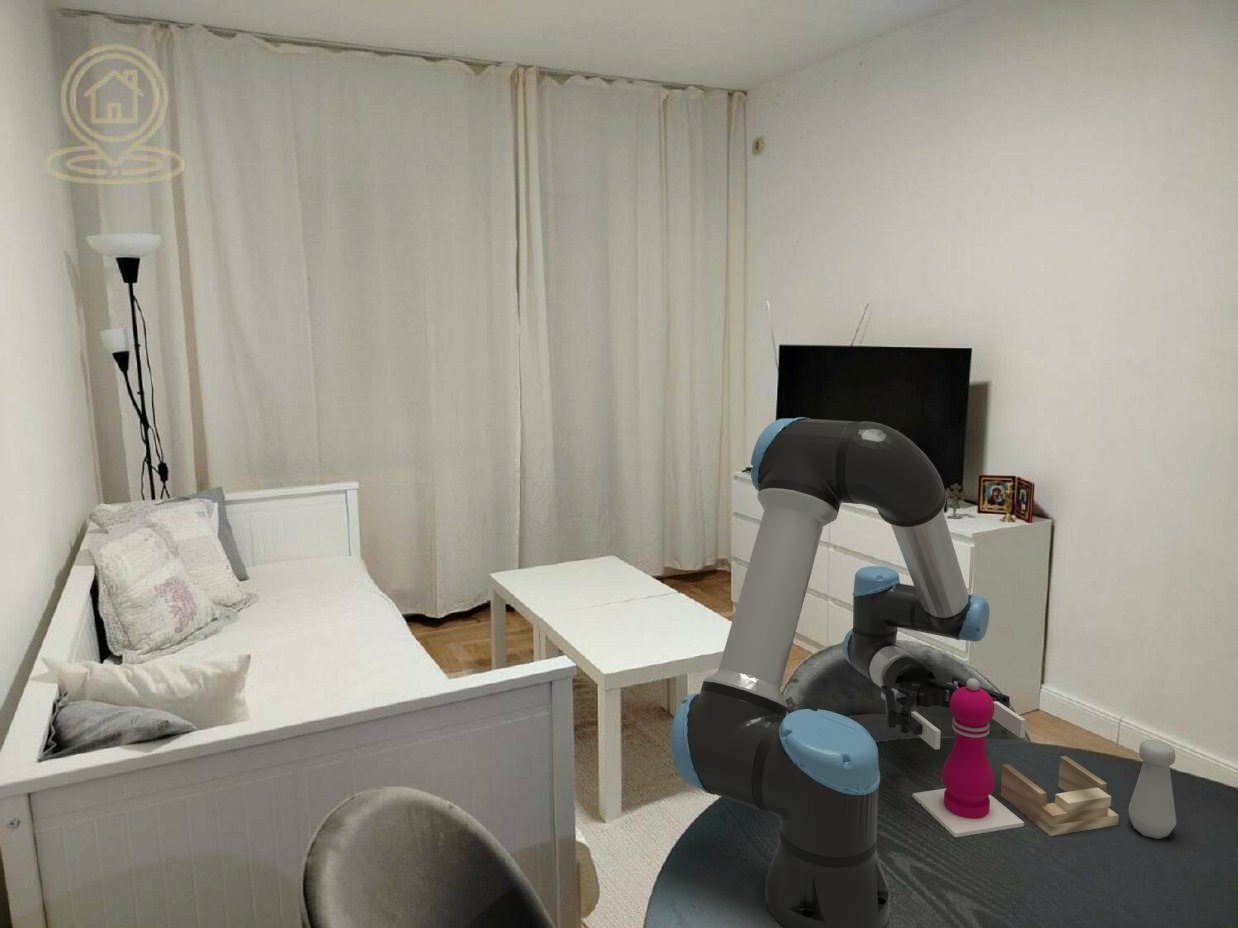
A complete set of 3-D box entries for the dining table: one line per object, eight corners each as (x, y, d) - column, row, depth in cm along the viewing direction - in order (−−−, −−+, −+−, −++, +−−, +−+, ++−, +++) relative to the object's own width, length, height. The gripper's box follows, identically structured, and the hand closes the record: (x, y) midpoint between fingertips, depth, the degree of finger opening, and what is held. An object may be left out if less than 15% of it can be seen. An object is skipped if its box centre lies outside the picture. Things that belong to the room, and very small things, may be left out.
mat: (954, 837, 124) (955, 833, 123) (912, 796, 134) (912, 793, 134) (1024, 826, 126) (1024, 822, 126) (977, 787, 137) (977, 783, 136)
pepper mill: (984, 794, 133) (991, 669, 130) (999, 821, 126) (1007, 689, 123) (934, 792, 134) (940, 668, 131) (947, 819, 127) (954, 688, 123)
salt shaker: (1139, 814, 128) (1146, 730, 126) (1182, 832, 124) (1190, 745, 122) (1119, 828, 125) (1125, 742, 123) (1162, 847, 120) (1170, 758, 118)
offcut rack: (1050, 835, 123) (1052, 802, 123) (1000, 795, 134) (1002, 764, 133) (1118, 824, 126) (1120, 792, 125) (1063, 785, 136) (1065, 755, 136)
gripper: (969, 690, 149) (1055, 748, 129) (832, 706, 144) (900, 769, 124) (971, 647, 148) (1058, 699, 128) (833, 663, 143) (902, 719, 123)
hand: (981, 734), depth 126 cm, fingers open, 13 cm apart
